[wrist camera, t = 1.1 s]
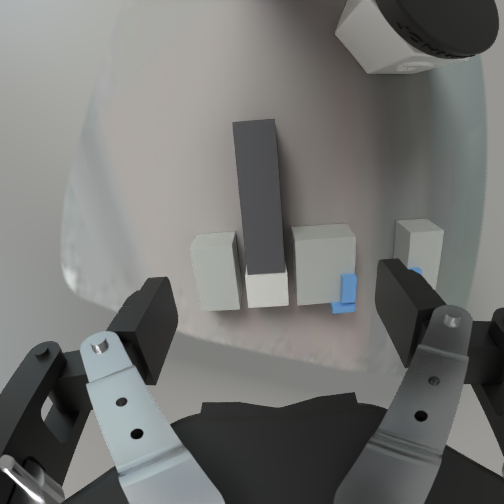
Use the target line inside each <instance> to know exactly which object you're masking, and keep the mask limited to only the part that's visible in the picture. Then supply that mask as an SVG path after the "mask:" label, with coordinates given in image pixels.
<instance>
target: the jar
mask: <svg viewBox="0 0 504 504" xmlns="http://www.w3.org/2000/svg"><path fill="white" fill-rule="evenodd" d="M498 30H499V17H498V11H497V7H496V4H495V1H494V0H347V3H346V5H345V8H344V10H343V12H342V15H341V17H340V20H339V22H338V25H337V27H336V30H335V35H336V36H337V38H338V39H339V40H340V41H341V42H342V43H343V44H344V46H345V47H346V48H347V49H348V50H349V52H350V53H351V54H352V55H353V56H354V58H355V59H356V60H357V61H358V63H359V64H360V65H361V66H362V68H363V69H364V70H365V71H366V73H368V74H414V73H418V72H422V71H426V70H430V69H434V68H438V67H442V66H446V65H451V64H455V63H460V62H465V61H468V60H469V58H470V57H471V56H475V55H476V54H479V53H482V52H484V51H486V50H487V49H489V48H490V47H491V46H492V45H493V43H494V42H495V40H496V37H497V34H498Z"/></svg>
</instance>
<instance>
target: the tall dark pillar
mask: <svg viewBox="0 0 504 504" xmlns="http://www.w3.org/2000/svg"><path fill="white" fill-rule="evenodd" d="M232 123H233V134H234V144H235V154H236V165H237V175H238V185H239V195H240V205H241V215H242V225H243V235H244V245H245V255H246V272H245V281H246V290H247V300H248V308H256V307H272V306H287V305H289V302H288V277H287V268H286V261H285V255H284V248H283V230H282V213H281V198H280V183H279V168H278V155H277V142H276V129H275V119H267V120H254V121H242V122H232Z"/></svg>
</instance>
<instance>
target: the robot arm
mask: <svg viewBox="0 0 504 504" xmlns="http://www.w3.org/2000/svg"><path fill="white" fill-rule="evenodd" d="M375 304H376V309H377V312H378V314H379V316H380V318H381V320H382V322H383V324H384V326H385V328H386V330H387V332H388V334H389V336H390V338H391V340H392V342H393V344H394V346H395V348H396V350H397V352H398V354H399V356H400V359H401V361H402V363H403V365H404V367H405V368H408V370H407V372H406V374H405V376H404V378H403V381H402V383H401V385H400V387H399V389H398V391H397V393H396V395H395V397H394V399H393V401H392V403H391V405H390V407H389V409H385V408H382V407H379V406H376V405H372V404H365V403H357V399H356V396H355V393H354V392H353V393H345V394H337V395H330V396H321V397H316V398H312V399H309V400H306V401H303V402H299V403H296V404H292V405H288V406H285V407H281V408H274V407H267V406H260V405H254V404H248V403H241V402H219V403H217V402H216V403H215V402H211V403H210V402H203V403H202V409H201V413H199V414H195V415H191V416H188V417H185V418H182V419H180V420H178V421H176V422H174V423H172V424H169V423H168V421H167V420H166V418H165V417H164V415H163V413H162V412H161V410H160V408H159V407H158V405H157V404H156V402H155V400H154V399H153V397H152V395H151V393H150V392H149V390H148V388H147V387H146V385H156V383H157V380H158V378H159V374H160V372H161V369H162V366H163V364H164V361H165V358H166V355H167V353H168V350H169V347H170V344H171V342H172V339H173V336H174V334H175V331H176V328H177V325H178V313H177V308H176V304H175V301H174V297H173V293H172V289H171V284H170V281H169V279H168V278H167V277H155V278H148V279H147V280H146V282H145V283H144V285H143V286H142V288H141V289H140V291H136V292H135V293H133V294H132V295H131V296H129V297H128V298H127V300H126V301H125V302H124V304H123V305H122V306H123V307H121V309H120V310H119V312H118V313H117V315H116V316H115V318H114V319H113V321H112V322H111V324H110V326H109V327H108V328H107V330H106V331H103V332H98V333H95V334H93V335H91V336H89V337H88V338H86V339H85V340H84V341H83V343H82V344H81V347H80V350H77V351H72V352H66V353H63V352H62V350H61V348H60V346H59V344H58V343H56V342H53V341H48V342H44V343H41V344H39V345H37V346H35V347H34V348H32V349H31V350H30V352H29V353H28V354H27V356H26V357H25V359H24V360H23V361H22V363H21V364H20V366H19V367H18V368H17V370H16V371H15V373H14V374H13V376H12V377H11V379H10V380H9V382H8V383H7V385H6V386H5V388H4V389H3V391H2V393H1V394H0V504H504V463H503V467H502V475H503V477H501V476H500V475H498V474H496V473H494V472H493V471H491V470H489V469H487V468H485V467H484V466H482V465H480V464H478V463H477V462H475V461H473V460H471V459H470V458H468V457H466V456H464V455H463V454H461V453H459V452H458V451H456V450H454V449H453V448H451V447H449V446H448V445H446V442H447V439H448V436H449V433H450V430H451V427H452V424H453V421H454V417H455V414H456V410H457V406H458V403H459V400H460V396H461V392H462V388H463V384H471V386H472V388H473V390H474V392H475V394H476V395H477V398H478V400H479V401H480V404H481V406H482V408H483V410H484V412H485V414H486V416H487V419H488V421H489V423H490V425H491V427H492V430H493V432H494V434H495V437H496V439H497V441H498V443H499V446H500V449H501V451H502V454H503V456H504V308H499V309H497V310H496V311H495V312H494V314H493V317H492V320H491V322H490V321H473V319H472V317H471V315H470V314H469V313H468V312H467V311H466V310H464V309H463V308H460V307H457V306H453V305H446V303H445V302H444V301H443V300H442V298H441V297H440V296H439V295H438V294H437V292H436V291H435V290H434V289H433V288H432V287H431V285H430V284H429V283H428V282H427V281H426V279H425V278H424V277H423V276H422V275H421V274H419V273H417V272H415V271H414V270H412V269H410V270H408V269H407V268H406V266H405V265H404V264H403V263H402V262H401V260H400V259H398V258H395V259H384V260H380V261H379V262H378V268H377V281H376V292H375ZM47 396H49V398H50V399H51V401H52V402H53V405H52V407H51V409H50V411H49V413H48V415H47V417H46V419H45V421H44V422H43V420H42V417H41V408H42V405H43V403H44V402H45V400H46V398H47ZM93 409H94V412H95V415H96V417H97V421H98V423H99V426H100V429H101V432H102V434H103V437H104V439H105V442H106V444H107V447H108V450H109V452H110V454H111V457H112V459H113V462H114V464H115V466H114V467H112V468H111V469H110V470H108V471H107V472H106V473H104V474H103V475H101V476H100V477H98V478H97V479H96V480H94V481H93V482H91V483H90V484H88V485H87V486H85V487H84V488H82V489H81V490H80V491H78V492H76V493H75V494H74V495H72V496H71V497H69V498H67V499H66V500H65V496H64V492H63V490H62V485H63V482H64V479H65V477H66V474H67V471H68V468H69V465H70V462H71V460H72V457H73V454H74V451H75V449H76V446H77V444H78V441H79V438H80V436H81V433H82V431H83V428H84V426H85V423H86V420H87V418H88V416H89V413H90V411H91V410H93Z"/></svg>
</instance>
